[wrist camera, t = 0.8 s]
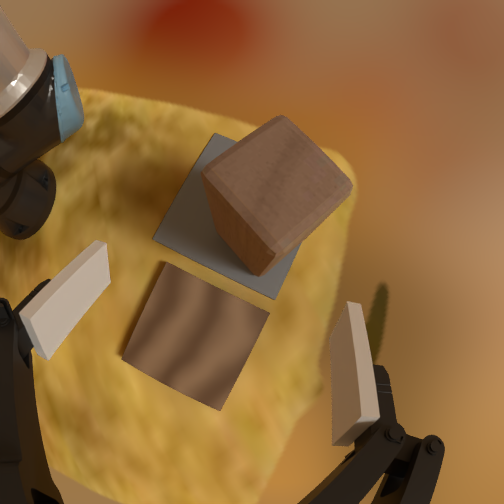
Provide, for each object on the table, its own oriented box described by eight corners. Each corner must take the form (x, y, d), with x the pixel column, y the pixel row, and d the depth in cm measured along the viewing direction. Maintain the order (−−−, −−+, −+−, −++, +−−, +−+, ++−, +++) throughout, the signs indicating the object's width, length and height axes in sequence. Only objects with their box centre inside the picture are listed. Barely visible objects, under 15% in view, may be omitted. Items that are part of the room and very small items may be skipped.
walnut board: (125, 357, 39) (121, 359, 38) (169, 263, 42) (166, 261, 41) (220, 407, 39) (220, 411, 37) (268, 312, 42) (269, 312, 40)
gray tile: (152, 239, 42) (152, 239, 42) (215, 133, 46) (215, 132, 46) (274, 299, 42) (274, 300, 42) (326, 183, 45) (327, 183, 45)
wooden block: (212, 228, 43) (194, 168, 23) (263, 187, 44) (282, 107, 25) (257, 280, 42) (276, 260, 22) (308, 236, 44) (360, 184, 24)
